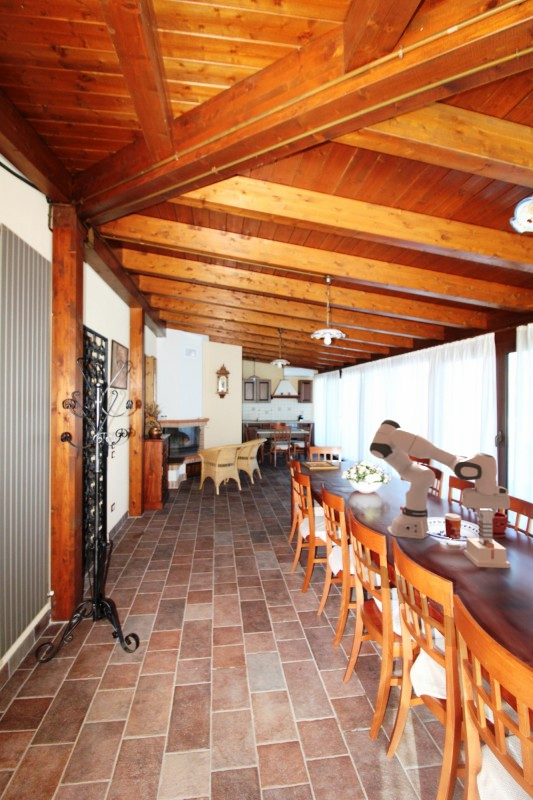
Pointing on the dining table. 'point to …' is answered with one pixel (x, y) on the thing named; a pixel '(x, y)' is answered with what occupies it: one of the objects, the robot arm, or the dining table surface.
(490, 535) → the column
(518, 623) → the dining table surface
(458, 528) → the coffee cup
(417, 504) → the robot arm
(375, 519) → the dining table surface
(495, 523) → the plant pot
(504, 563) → the sleeve stand
